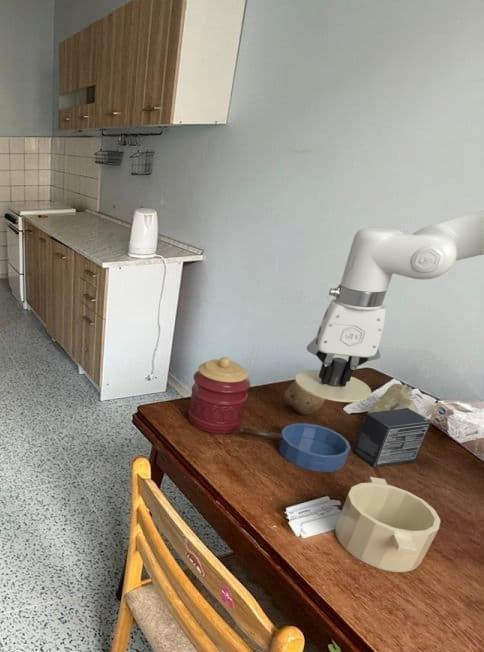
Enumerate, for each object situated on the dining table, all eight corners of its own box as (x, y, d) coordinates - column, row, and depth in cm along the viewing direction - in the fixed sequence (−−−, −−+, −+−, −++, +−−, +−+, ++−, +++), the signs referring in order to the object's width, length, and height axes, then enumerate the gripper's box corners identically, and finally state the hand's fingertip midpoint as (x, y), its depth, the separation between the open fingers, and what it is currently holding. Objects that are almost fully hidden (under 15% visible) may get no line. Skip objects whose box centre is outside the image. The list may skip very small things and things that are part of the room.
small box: (391, 445, 109) (407, 406, 104) (416, 462, 103) (434, 421, 98) (351, 450, 107) (365, 411, 102) (374, 468, 102) (390, 427, 97)
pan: (338, 443, 110) (343, 428, 108) (350, 477, 99) (356, 462, 97) (275, 433, 114) (279, 419, 112) (280, 465, 103) (285, 450, 101)
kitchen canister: (203, 438, 113) (215, 372, 105) (178, 411, 124) (187, 349, 116) (251, 431, 115) (267, 366, 107) (222, 405, 126) (234, 344, 118)
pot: (402, 517, 88) (419, 481, 84) (438, 594, 74) (460, 555, 70) (327, 502, 92) (339, 468, 88) (345, 573, 78) (361, 535, 74)
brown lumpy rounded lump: (280, 417, 121) (289, 382, 116) (281, 402, 128) (289, 368, 123) (320, 425, 117) (331, 389, 112) (319, 408, 124) (329, 374, 119)
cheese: (392, 453, 110) (455, 414, 106) (373, 429, 109) (435, 389, 106) (358, 435, 124) (411, 401, 121) (341, 414, 124) (394, 379, 121)
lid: (360, 379, 102) (370, 351, 99) (377, 409, 91) (389, 379, 88) (290, 370, 107) (297, 343, 103) (298, 398, 95) (306, 369, 92)
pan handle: (282, 438, 108) (284, 432, 107) (283, 442, 107) (284, 436, 106) (237, 431, 111) (239, 425, 110) (237, 434, 110) (239, 429, 109)
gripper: (315, 298, 89) (291, 385, 98) (417, 306, 84) (382, 396, 93) (309, 287, 95) (287, 370, 104) (404, 294, 90) (373, 380, 99)
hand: (332, 381), depth 98 cm, fingers closed on lid, 2 cm apart
